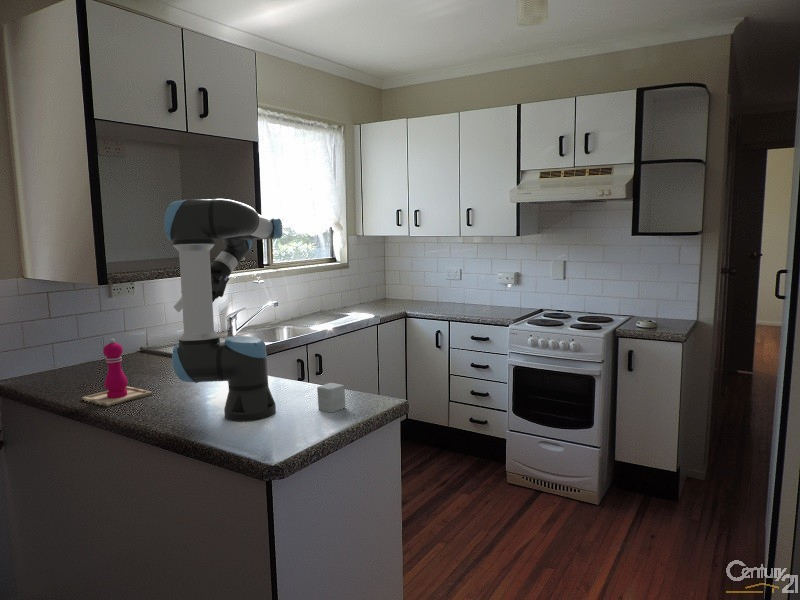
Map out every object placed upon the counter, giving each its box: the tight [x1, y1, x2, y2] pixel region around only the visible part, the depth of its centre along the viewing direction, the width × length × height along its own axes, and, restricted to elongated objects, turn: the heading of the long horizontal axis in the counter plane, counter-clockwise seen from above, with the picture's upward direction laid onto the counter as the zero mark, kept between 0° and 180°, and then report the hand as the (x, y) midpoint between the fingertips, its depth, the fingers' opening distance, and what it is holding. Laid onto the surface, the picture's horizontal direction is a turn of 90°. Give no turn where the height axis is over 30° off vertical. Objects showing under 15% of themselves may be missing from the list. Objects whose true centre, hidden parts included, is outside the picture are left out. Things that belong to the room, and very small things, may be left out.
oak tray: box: [81, 385, 153, 407], centre depth 204 cm, size 16×16×1 cm
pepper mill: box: [102, 338, 129, 398], centre depth 202 cm, size 7×7×20 cm
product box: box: [316, 382, 346, 413], centre depth 181 cm, size 6×6×7 cm
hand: (188, 309), depth 205 cm, fingers open, 13 cm apart
